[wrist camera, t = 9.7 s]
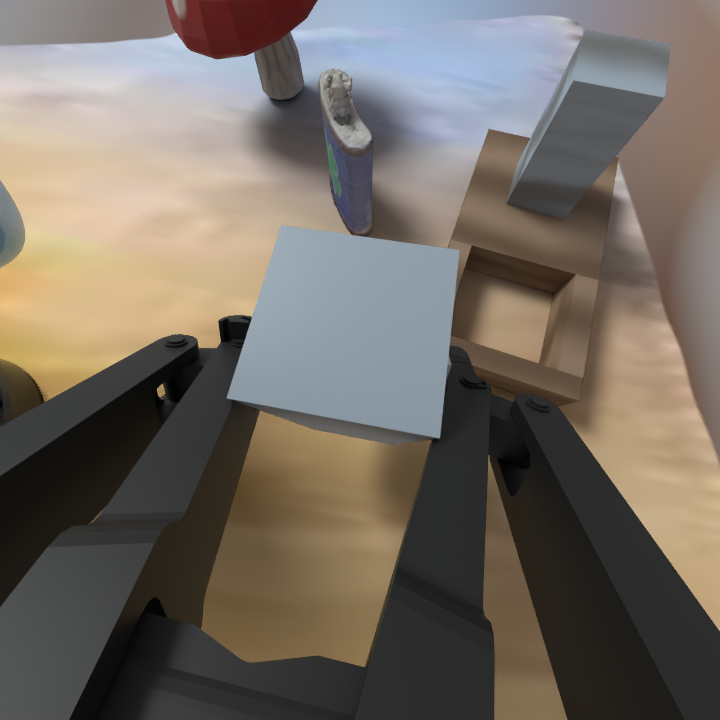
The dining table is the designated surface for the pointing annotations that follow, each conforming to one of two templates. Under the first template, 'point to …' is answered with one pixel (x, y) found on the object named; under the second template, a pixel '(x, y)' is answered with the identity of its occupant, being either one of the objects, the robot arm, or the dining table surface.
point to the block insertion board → (557, 205)
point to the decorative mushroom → (246, 35)
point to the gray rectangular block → (351, 336)
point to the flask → (347, 152)
